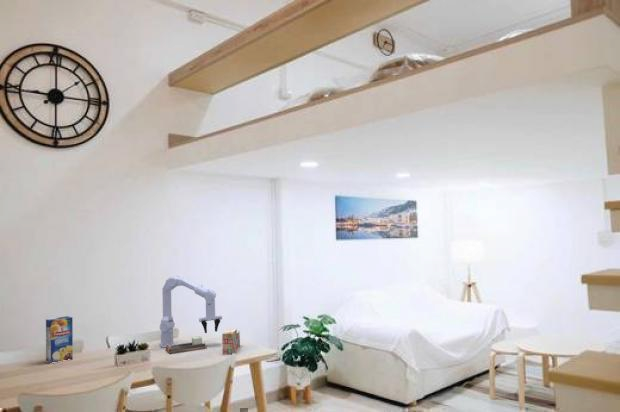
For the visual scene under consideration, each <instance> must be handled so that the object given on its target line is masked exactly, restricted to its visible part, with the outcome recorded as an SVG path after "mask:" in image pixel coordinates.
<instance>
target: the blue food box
mask: <svg viewBox="0 0 620 412" xmlns="http://www.w3.org/2000/svg"><path fill="white" fill-rule="evenodd" d="M73 332H74V331H73V317H72V316H68V315H66V316H61V317H60V316H59V317H51V318H45V362H46V361H48V362H50V363H52V362H57V363H59V362H58V361H62V362H64V361H63V360H67V361H69V360H68V359H72V360H74V359H73V357H74V356H73V355H74V354H73V351H74V349H73V348H74V347H73V345H74V344H73V340H74V339H73V337H74V336H73V334H74V333H73ZM48 362H47V363H48ZM50 363H49V364H50Z"/></svg>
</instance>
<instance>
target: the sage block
mask: <svg viewBox="0 0 620 412" xmlns="http://www.w3.org/2000/svg"><path fill="white" fill-rule="evenodd" d="M191 343H192V345H196V344H203V337H202V336H194V337H193V336H192V337H191Z"/></svg>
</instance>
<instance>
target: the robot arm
mask: <svg viewBox="0 0 620 412" xmlns="http://www.w3.org/2000/svg"><path fill="white" fill-rule="evenodd" d="M181 286H182V287H185V288H187V289H189V290H192V291H194V294H195V295H198V296H200V297H202V298H203V299H204V300H205V317H200V318H198V322H199V323H201V325H202V328H203V330H204V333H205V334H207V333H208V330H207V327H208V326H207V325H208V321H210V322H211V321H214V332H215V333H216V332H218V329H219V325H220V323H221V320H223V316H222V315H218V316H217V315H216V301H215V300H216V299H215V298H216V296H217V294H216V292H215V291H214V290H212V289H211V290H210V289H209V288H206V287H205V286H204V285H202V284H201V285H200V284H199V285H196V284H195V283H192V282H190V281H189V280H187V279H185V278H184V277H181V276H179V275H175V276H171V277H168V279H166V280H165V283H164V285H163V287H162V290H161V291H162V318H161V320H160V325H159V329H160V331H161V333H160V343H159V344H158V345H159V346H160V347H161V348H166V344H169V345H170V346H172V345H176V344H175V343H174V327H175V321H174V317H173V316H172V291H173V290H174V289H175V288H176V287H181Z"/></svg>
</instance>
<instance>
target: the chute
mask: <svg viewBox="0 0 620 412" xmlns="http://www.w3.org/2000/svg"><path fill="white" fill-rule="evenodd" d="M164 348H165V351H166V353H168V354H169V355H174V354H180V353H186V352H188V353H189V352H193V351H194V352H195V351H200V350H201V351H202V350H207V346H206V342H205V343H203V342H202V344H196V345H192V342H187V343H180V344H175V345H172V346H170V345H169V344H166V347H164Z"/></svg>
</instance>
